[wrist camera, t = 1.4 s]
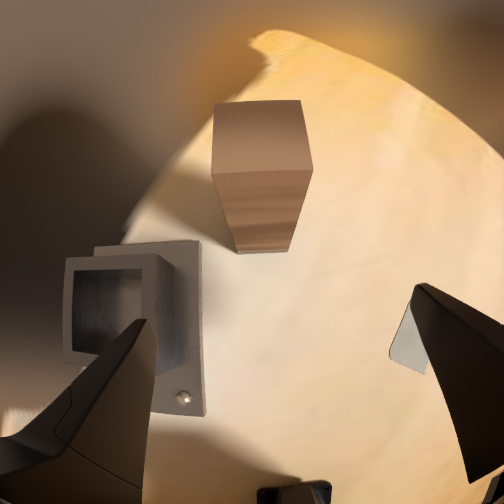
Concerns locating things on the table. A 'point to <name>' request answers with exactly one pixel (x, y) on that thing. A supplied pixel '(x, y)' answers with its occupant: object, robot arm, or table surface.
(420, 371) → the mounting bracket
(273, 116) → the rail post
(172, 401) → the cup bracket
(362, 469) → the table surface
